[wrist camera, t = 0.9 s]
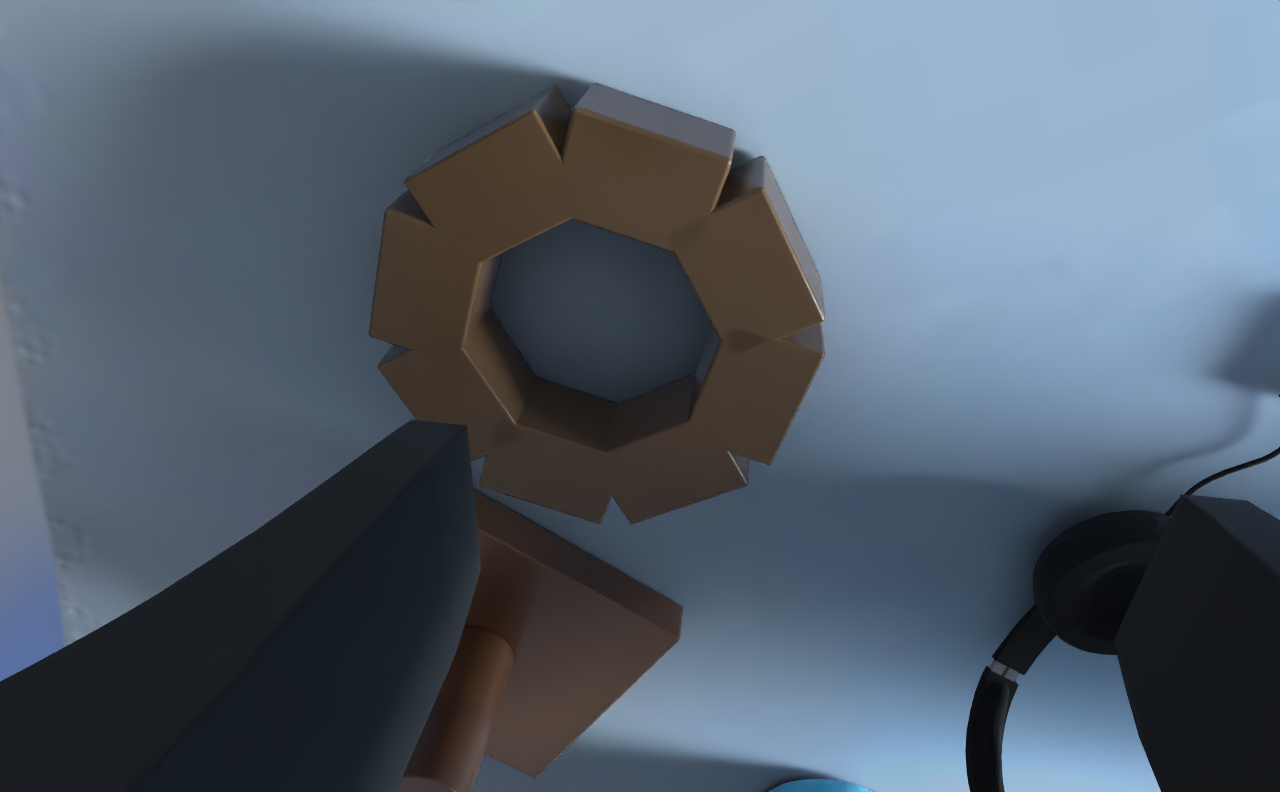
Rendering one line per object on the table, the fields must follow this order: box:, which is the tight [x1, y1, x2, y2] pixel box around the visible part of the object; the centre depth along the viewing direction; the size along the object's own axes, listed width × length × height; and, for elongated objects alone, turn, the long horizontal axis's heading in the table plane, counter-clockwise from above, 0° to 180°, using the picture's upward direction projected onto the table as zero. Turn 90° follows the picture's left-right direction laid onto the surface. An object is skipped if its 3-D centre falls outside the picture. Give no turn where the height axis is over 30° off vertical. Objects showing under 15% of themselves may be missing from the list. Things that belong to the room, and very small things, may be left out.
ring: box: [368, 83, 825, 524], centre depth 18 cm, size 9×9×2 cm
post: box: [396, 489, 683, 792], centre depth 22 cm, size 8×8×6 cm
